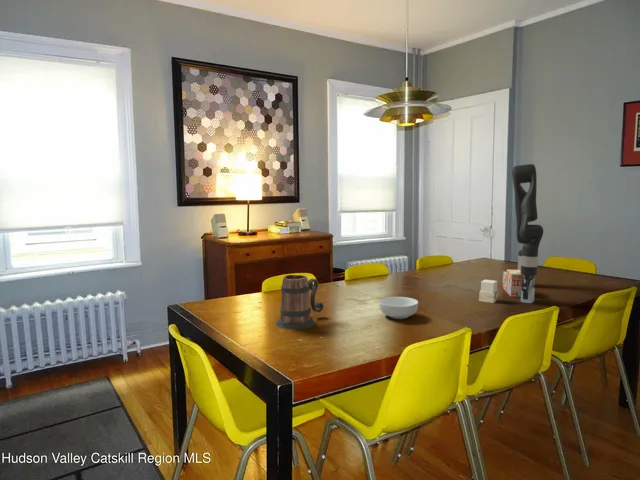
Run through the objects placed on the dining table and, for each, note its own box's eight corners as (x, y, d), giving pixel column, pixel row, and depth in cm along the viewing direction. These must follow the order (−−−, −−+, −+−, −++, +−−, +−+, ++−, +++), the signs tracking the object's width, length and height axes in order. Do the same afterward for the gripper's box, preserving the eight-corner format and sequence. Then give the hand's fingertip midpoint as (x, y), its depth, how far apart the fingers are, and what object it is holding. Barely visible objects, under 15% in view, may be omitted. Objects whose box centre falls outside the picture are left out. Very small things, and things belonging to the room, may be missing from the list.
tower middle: (484, 289, 231) (485, 279, 230) (496, 290, 227) (497, 281, 226) (480, 291, 226) (481, 281, 225) (493, 293, 222) (493, 283, 222)
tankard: (292, 332, 179) (292, 283, 177) (267, 322, 192) (266, 276, 189) (335, 320, 195) (335, 274, 193) (309, 312, 208) (309, 269, 205)
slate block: (523, 299, 229) (524, 286, 228) (533, 301, 225) (534, 287, 225) (520, 301, 225) (521, 288, 224) (531, 303, 222) (532, 289, 221)
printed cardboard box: (502, 287, 255) (503, 266, 254) (513, 288, 254) (514, 266, 252) (510, 297, 234) (512, 273, 233) (523, 297, 233) (524, 274, 232)
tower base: (483, 298, 232) (484, 288, 231) (497, 300, 228) (498, 290, 227) (478, 301, 226) (479, 291, 226) (493, 303, 222) (493, 293, 222)
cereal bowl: (391, 309, 212) (392, 294, 211) (424, 315, 202) (424, 300, 201) (372, 317, 199) (372, 301, 198) (405, 324, 189) (406, 308, 188)
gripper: (525, 262, 231) (523, 293, 233) (517, 266, 219) (515, 299, 222) (541, 263, 226) (539, 296, 228) (533, 268, 215) (531, 302, 217)
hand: (527, 297), depth 225 cm, fingers open, 7 cm apart
